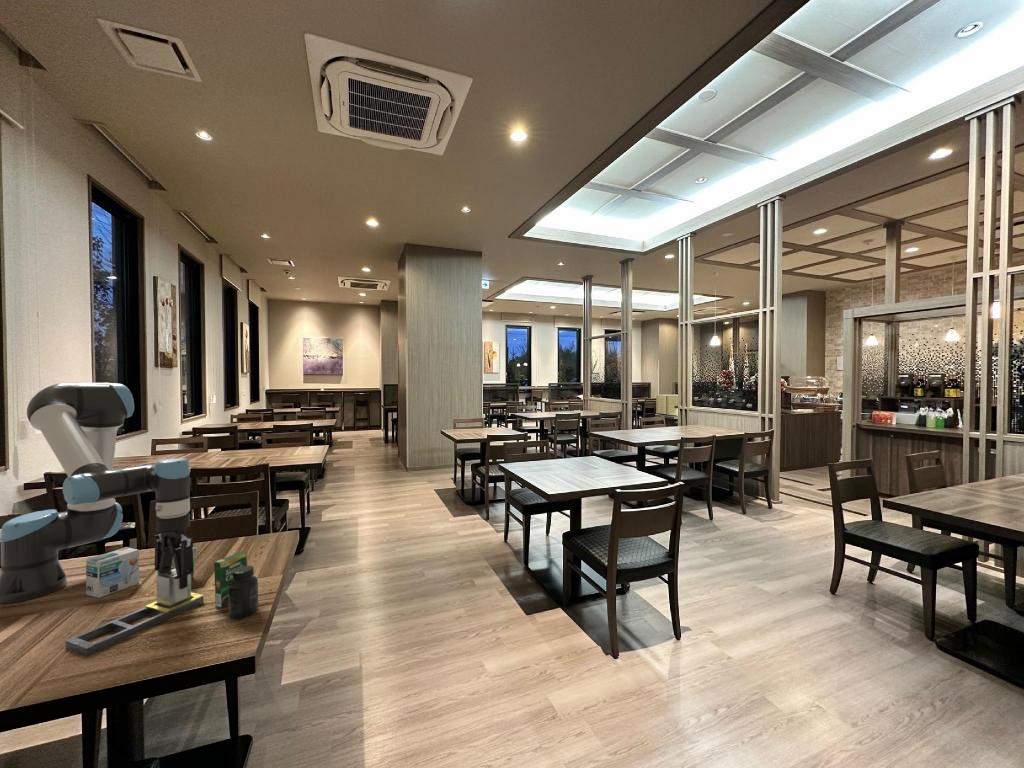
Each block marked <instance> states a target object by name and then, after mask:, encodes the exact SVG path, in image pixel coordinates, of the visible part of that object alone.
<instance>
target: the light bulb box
mask: <svg viewBox="0 0 1024 768" xmlns="http://www.w3.org/2000/svg"><path fill="white" fill-rule="evenodd" d="M85 562H86V563H85V565H86V566H85V578H86V579H85V582H86V583H85V585H86V586H85V587H86V588H85V593H86V596H91V597H95V598H97V599H100V598H102V597H105V596H108V595H110V594H114V593H116V592H119V591H122V590H124V589H127V588H130V587H132V586H135V585H137V584H139V583H140V550H139V549H137V548H133V547H132V548H131V547H128V546H125V547H122V548H120V549H116V550H112V551H110V552H107V553H103V554H100V555H96V556H93V557H90V558H86V559H85Z"/></svg>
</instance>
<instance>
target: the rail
mask: <svg viewBox="0 0 1024 768" xmlns="http://www.w3.org/2000/svg"><path fill="white" fill-rule="evenodd" d="M204 597H205V595H203V594H199V593H196V592H193V591H191V599H190V600H188V601H185V602H183V603H181V604H178V605H176V606H174V607H172V608H169V609H167V608H164V607H160V606H157V600H155V601H154V602H151V603H149V604H147V605H145V606H144V607H142V608H139V609H137V610H135V611H132V612H130V613H127V614H125V615H122V616H121V617H118V618H115V619H113V620H111V621H108V622H106V623H103V624H101V625H98V626H97V627H94V628H91V629H89V630H86V631H84V632H83V633H80V634H77V635H75V636H73V637H70V638H68V639H66V640H65V641H64V642H65V646H64V647H65V649H67V650H70V651H71V652H75V653H77V654H79V655H83V656H85V657H88V656H91V655H93V654H95V653H96V652H99V651H102V650H104V649H106V648H108V647H110V646H112V645H115V644H117V643H119V642H121V641H123V640H125V639H127V638H130V637H132V636H133V635H137V634H138V633H141V632H143V631H145V630H148V629H149V628H151V627H153V626H156V625H158V624H160V623H162V622H164V621H167V620H169V619H170V618H173V617H175V616H178V615H179V614H182V613H184V612H186V611H188V610H191V609H193V608H195V607H197V606H199V605H202V604H203V603H205V601H204V599H205V598H204ZM147 615H149V616H152V617H150V618H147V619H145V620H143V621H140V622H139V623H136V624H134V625H132V624H129V623H132V622H133V621H135V620H139V619H140V618H142V617H145V616H147ZM110 631H114V632H115V633H113V634H111V635H109V636H106V637H105V638H104V637H103V638H102V639H100V640H97V641H95V642H93V643H92V642H90V641H89V640H92V639H94V638H97V637H99V636H101V635H103V634H106V633H108V632H110Z"/></svg>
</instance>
